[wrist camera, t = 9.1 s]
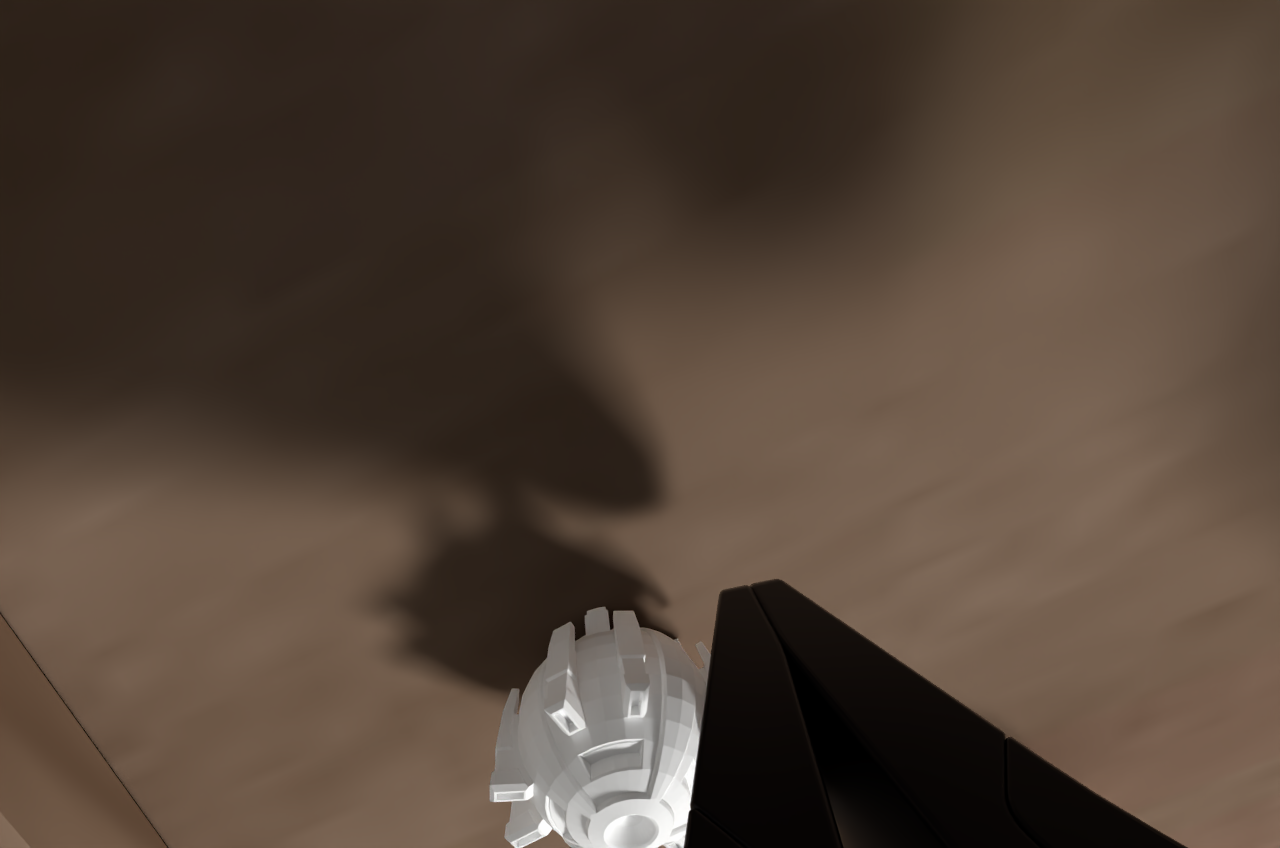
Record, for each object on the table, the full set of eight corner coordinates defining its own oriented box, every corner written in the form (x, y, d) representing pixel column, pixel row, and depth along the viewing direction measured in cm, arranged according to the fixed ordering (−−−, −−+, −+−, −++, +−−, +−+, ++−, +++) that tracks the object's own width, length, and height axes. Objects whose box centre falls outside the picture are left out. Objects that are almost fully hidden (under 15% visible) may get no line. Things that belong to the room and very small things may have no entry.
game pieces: (1070, 770, 14) (1208, 941, 11) (962, 867, 15) (1064, 1048, 12) (577, 537, 10) (586, 702, 7) (473, 685, 11) (445, 885, 8)
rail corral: (804, -642, 5) (888, -898, 4) (859, 945, 15) (890, 1026, 14) (-912, -434, 5) (-1477, -654, 4) (282, 1083, 14) (253, 1182, 13)
